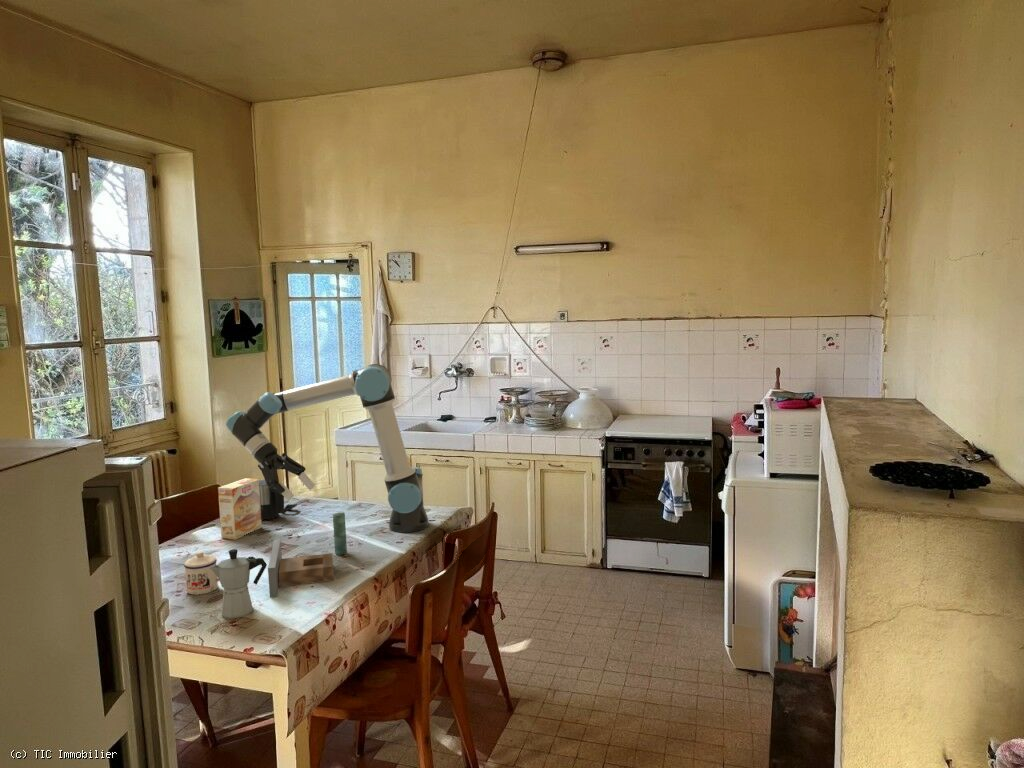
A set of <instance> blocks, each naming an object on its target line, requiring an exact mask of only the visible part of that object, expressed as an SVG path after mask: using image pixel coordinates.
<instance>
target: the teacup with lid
mask: <svg viewBox="0 0 1024 768" xmlns="http://www.w3.org/2000/svg"><path fill="white" fill-rule="evenodd" d="M217 562H218V560H217V558H216V556H214V555H210V554H205V553H204V552H203V551H198V552H197V551H196V553H195V555H194V556H193V557H190V558H188V559H187V560H186V561H185V562H184V564H183V567H184V571H185V572H184V573H185V584H186V592H187V593H188V595H193V594H194V595H196V596H197V595H199V594H200V595H205V594H208V593H212V592H213V590H214V591H215V590H216V589H218V587H219V583H218V582H220V580H219V578H218V577H217V576H216V574H215V573H214V572H213V571H212V570H211V569H209V568H211V567H213V566H216V565H217ZM194 595H193V596H194Z"/></svg>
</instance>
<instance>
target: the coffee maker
mask: <svg viewBox="0 0 1024 768" xmlns="http://www.w3.org/2000/svg"><path fill="white" fill-rule="evenodd" d="M228 553H229V558H228V559H227V558H226V559H224V560H221V561H219V563H218V564H216V566H213V567H211V568H209V569H211V570H212V571H213V572H214V573H215V574H216V576H217V578H219V580H220V581H219V582H220V587H222V588H223V595H222V606H221V617H222V618H225V619H230V620H233V619H238V618H243V617H246V616H248V615H249V614H251V613H253V612H254V608H253V604H252V599H251V595H250V591H249V586H248V585H249V583H250V574H251V570H253V569H255V568H257V567H258V566H261V567H260V568H259V571H258V573H257V574H256V576H255V578H254V579H253V584H254V585H255V586H257V585H258V582H259V581H260V579H261V577H262V576H263V573H264V571H265V569H266V568H267V567H268V565H267V564H268V563H266V561H265V559H264V558H262V557H257V558H256V557H254V556H248V557H246V556H244V557H243V556H238V549H236V548H232V549H230V550H228Z"/></svg>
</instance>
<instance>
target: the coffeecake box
mask: <svg viewBox="0 0 1024 768" xmlns="http://www.w3.org/2000/svg"><path fill="white" fill-rule="evenodd" d="M259 480H260V479H259V478H249V477H248V478H246V477H245V478H242V479H239V480H236V481H234V482H231V483H228V484H224V485H222V486H218V487H217V491H218V492H217V493H218V505H219V506H218V507H219V520H220V521H219V523H220V535H221V539H228V540H234V541H235V540H238V539H240V538H242V537H245V536H247V535H248V533H249V534H251V533H252V532H255V531H258V530H259V529H261V527H263V525H262V520H261V508H260V492H259ZM254 530H255V531H254ZM250 532H251V533H250ZM246 534H247V535H246ZM244 535H245V536H244Z"/></svg>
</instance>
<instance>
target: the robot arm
mask: <svg viewBox="0 0 1024 768" xmlns="http://www.w3.org/2000/svg"><path fill="white" fill-rule="evenodd" d="M354 395H356V396H358V397H359V398H360V401H361V404H362V407H363V408H364V409H365V410H366V411H368V413H369V416H370V420H371V423H372V426H373V429H374V430H373V431H374V434H375V437H376V440H377V444H378V448H379V451H380V454H381V458H382V461H383V465H384V468H385V472H386V475H385V477H384V479H383V480H384V482H385V487H386V488H385V489H386V491H387V493H388V494H387V501H388V504H389V506H390V508H392V509H391V510H392V511H391V514H390V516H389V521H388V527H389V529H390V531H393V532H397V533H412V532H413V531H414V532H419V531H422V530H425V529H427V528H428V527H429V526H428V525H430V524H429V523H430V522H429V517H428V515H427V511H426V509H425V506H424V488H423V484H424V483H423V472H422V468H421V467H417V466H411V465H410V461H409V458H408V456H407V455H408V454H407V452H406V448H405V445H404V441H403V438H402V433H401V431H400V427H399V424H398V423H399V422H398V420H397V416H396V413H395V409H394V405H393V403H394V401H395V400H396V397H395V394H394V391H393V386H392V374H391V373H390V370H389V369H388V368H387V367H386V366H384V365H382V364H379V363H372V364H369V365H367V366H364V367H362V368H360V369H356V370H352V371H351V373H350V374H347V375H344V376H339V377H335V378H331V379H326V380H323V381H320V382H316V383H311V384H307V385H304V386H302V385H301V386H298V387H294V388H291V389H288V390H283V391H278V392H270V391H267V392H265V393H264V394H262V395H261V396H260V397H259V398H257V400H256V401H255V402H254V403H253V404H252V405H251V406H250V407H249V408H248V409H247V411H245V412H243V411H242V410H239V411H236V412H235V413H233V415H231V416H230V417H228V419H227V420H226V423H225V425H226V428H227V429H228V430H229V431H230V433H231V434H232V435H233V436H234V437H235V439H237V440H238V441H239V442H240V443H241V444H242V445H243V447H244V448H245V449H246V450H247V451H248V452H249V453H250V455H251V456H253V458H254V459H255V460H256V461H257V462H258V463H259V464H258V465H257V468H258V469H260V471H261V473H262V476H263V478H264V479H263V480H265V481H266V483H267V486H268V487H271V488H272V489H274V487H275V488H276V489H277V490H278V491H279V492H280V493H281V494H282V495H283V496H284V499H285V500H286V501H287V502H289V501H291V499H293V497H294V496H295V495H294V493H292V491H291V490H290V489H289V488H288V487H287V486H286V485H285V484H284V483H283V482H282V481H280V479H279V473H278V471H279V470H285V471H287V472H289V473H291V474H294V475H295V476H298V477H297V479H298V480H300V481H301V483H302V484H303V485H304V486H305V487H306V488H307V489H308V490H309V491H312V490H313V489H314V488H315V487H316V484H315V483H314V482H313V480H311V478H310V477H309V476H308V475H307V474H306V473H305V472H306V467H305V466H303V465H302V464H300V463H299V462H297V461H296V460H295V459H293V458H291V457H290V456H289V455H287V454H286V453H285V452H283V453H281V455H280V454H278V448H277V447H276V446H275V445H274V444H273V443H272V442H270V441H271V440H270V439H268V438H267V436H266V435H265V434H263V432H262V431H261V430H260V429H261V428H262V427H263V426H264V425H265V424H266V423H267V422H269V420H270V419H272V418H273V417H274V416H276V415H277V414H281V413H285V412H289V411H293V410H296V409H300V408H305V407H309V406H313V405H317V404H321V403H324V402H329V401H334V400H337V399H342V398H346V397H349V396H354ZM270 481H271V482H270ZM426 527H427V528H426ZM424 528H425V529H424ZM418 530H419V531H418Z"/></svg>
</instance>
